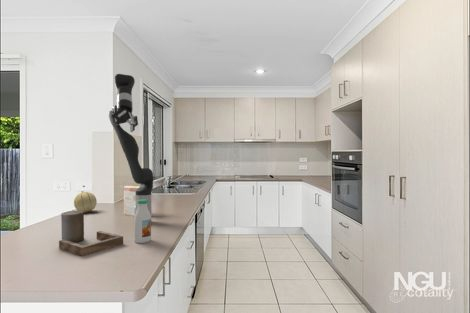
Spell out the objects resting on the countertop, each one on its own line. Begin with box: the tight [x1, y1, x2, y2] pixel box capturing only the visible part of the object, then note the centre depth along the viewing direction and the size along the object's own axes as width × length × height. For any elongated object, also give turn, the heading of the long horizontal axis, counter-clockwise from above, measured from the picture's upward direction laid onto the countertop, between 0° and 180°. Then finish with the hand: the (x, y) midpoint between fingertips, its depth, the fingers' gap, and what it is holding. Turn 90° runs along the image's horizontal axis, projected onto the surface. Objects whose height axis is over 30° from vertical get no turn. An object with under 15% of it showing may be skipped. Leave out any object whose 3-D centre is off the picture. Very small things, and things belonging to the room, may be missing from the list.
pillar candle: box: [60, 210, 85, 243], centre depth 145 cm, size 10×10×15 cm
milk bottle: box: [133, 199, 152, 244], centre depth 144 cm, size 8×8×20 cm
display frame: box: [58, 230, 124, 257], centre depth 136 cm, size 18×20×4 cm
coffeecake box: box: [123, 185, 141, 217], centre depth 205 cm, size 15×7×20 cm, turn 58°
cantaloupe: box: [73, 190, 98, 213], centre depth 212 cm, size 15×15×15 cm
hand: (125, 127), depth 150 cm, fingers open, 8 cm apart
